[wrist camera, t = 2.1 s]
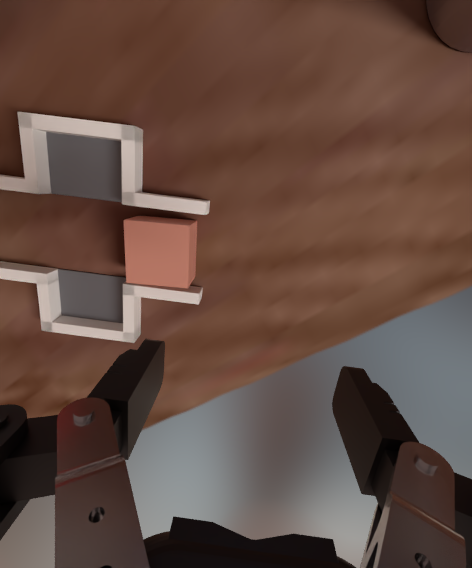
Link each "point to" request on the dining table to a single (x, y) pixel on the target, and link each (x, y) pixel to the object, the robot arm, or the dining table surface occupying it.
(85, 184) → the box
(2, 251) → the dining table surface
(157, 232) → the block
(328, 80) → the dining table surface
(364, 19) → the dining table surface
